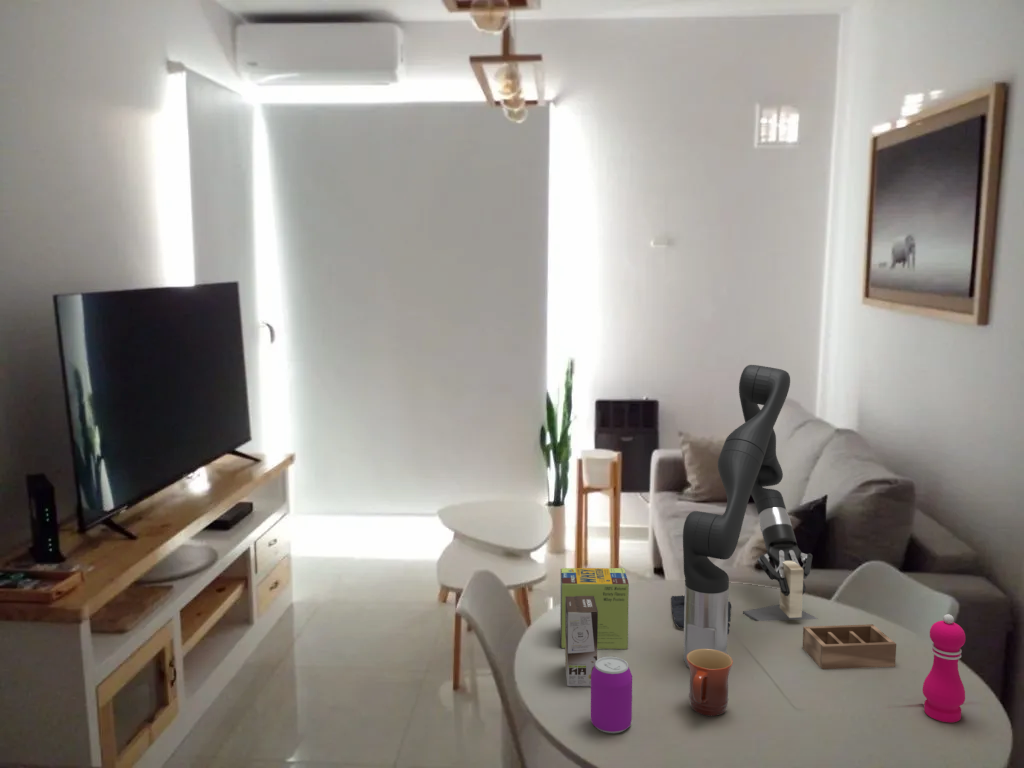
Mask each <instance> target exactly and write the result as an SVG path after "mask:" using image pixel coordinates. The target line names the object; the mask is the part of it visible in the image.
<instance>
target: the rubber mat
mask: <svg viewBox="0 0 1024 768" xmlns="http://www.w3.org/2000/svg"><path fill="white" fill-rule="evenodd" d="M742 614H743V615H745V616H746V617H748V618H749V619H751V620H753V621H755V622H765V621H766V622H767V621H768V622H770V621H771V622H772V621H795V620H796V621H797V620H798V621H800V620H803V621H804V620H819V618H817V617H815V616H813V615H812V614H810V613H808V612H806V611H805V610H802V617H799V618H789V617H788V616H787V615H786V614H785V613H784V612H783V611H782V610H781V609H780V603H779V604H775V605H774V604H773V605H769V606H764V607H759V608H758V607H757V608H752V609H748V610H743V611H742Z"/></svg>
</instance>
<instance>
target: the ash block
mask: <svg viewBox="0 0 1024 768" xmlns="http://www.w3.org/2000/svg"><path fill="white" fill-rule="evenodd" d="M783 565H784V572H785V578H786V580H787V583H788V587H789V591H790V594H789V595H788V596H785V595H784V594H783V593H782V592H781V589H779V590H780V591H779V604H780V609H781V610H782V611H783V612H784V613H785V614H786V615H787V616H788V617H789V618H799V617H802V611H803V597H804V594H803V580H804V579H803V572H804V569H803V566H801V565H800V564H799V565H800V566H799V565H798V564H797V563H796V562H793V561H785V562H783Z"/></svg>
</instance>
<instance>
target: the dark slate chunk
mask: <svg viewBox="0 0 1024 768" xmlns="http://www.w3.org/2000/svg"><path fill="white" fill-rule="evenodd" d="M670 597H671V598H670V601H671V602H670V603H671V611H672V613H671V614H673V621H674V624H675V625H676V626H677V627H678V628H682V629H684V606H685V595H672V596H670ZM731 611H732V604H731V601H728V628H727V636H728V635H729V633H730V626H731V624H730V623H731V620H732V618H731V615H732V613H731Z"/></svg>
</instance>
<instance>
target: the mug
mask: <svg viewBox="0 0 1024 768" xmlns="http://www.w3.org/2000/svg"><path fill="white" fill-rule="evenodd" d="M686 658H687V662H688V665H689V667H688V669H689V687H688V689H689V690H688V697H689V705H690V707H691V708H692V710H694V711H695V712H696V713H698V714H700V715H702V716H706V717H717V716H721V715H722V714H724V713H725V712H726V711H727V708H728V705H729V703H728V702H729V676H730V672H731V670H732V666H733V664H734V662H733V658H732V657H731V656H730V655H729V654H728V653H727V654H726V653H724V652H721V651H718V650H713V649H697V650H693V651H691V652H689V653H688V654H687V657H686Z"/></svg>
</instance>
